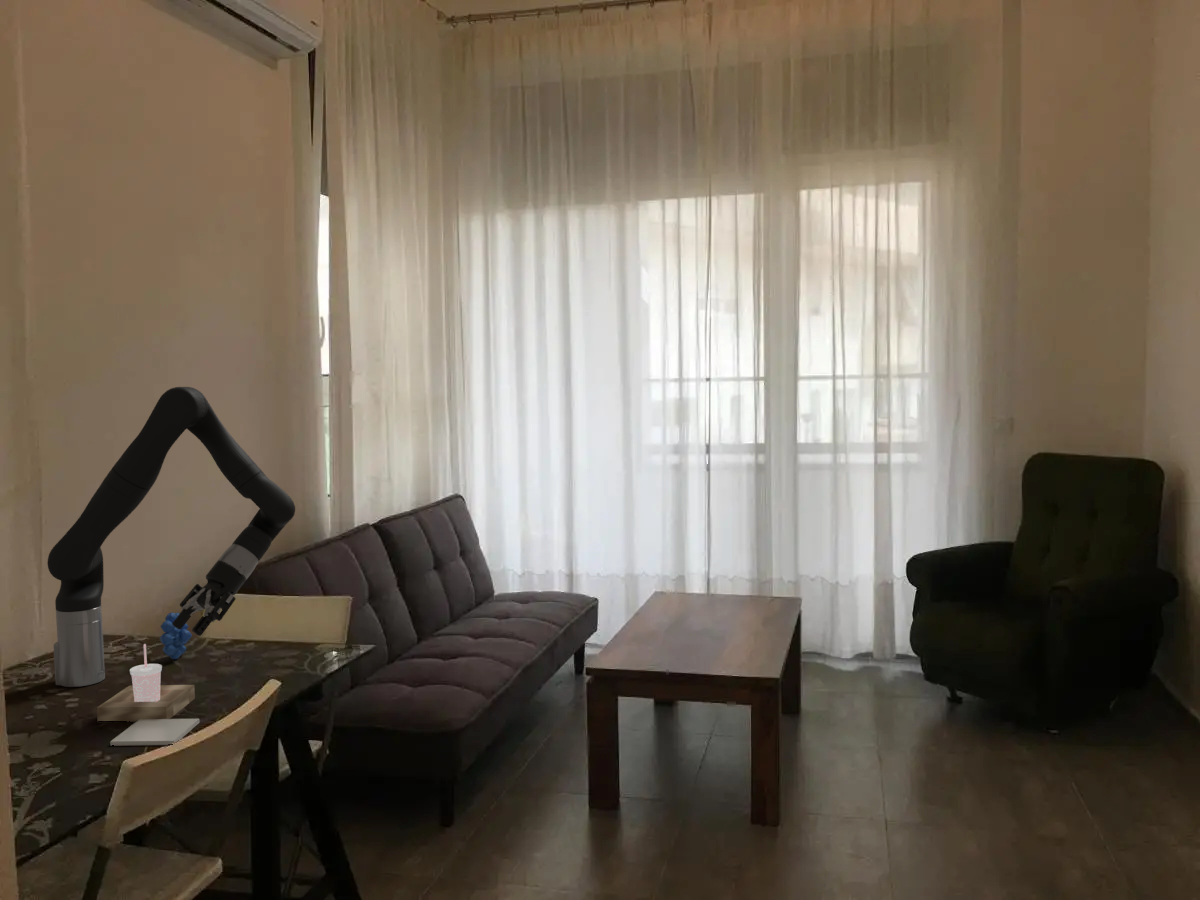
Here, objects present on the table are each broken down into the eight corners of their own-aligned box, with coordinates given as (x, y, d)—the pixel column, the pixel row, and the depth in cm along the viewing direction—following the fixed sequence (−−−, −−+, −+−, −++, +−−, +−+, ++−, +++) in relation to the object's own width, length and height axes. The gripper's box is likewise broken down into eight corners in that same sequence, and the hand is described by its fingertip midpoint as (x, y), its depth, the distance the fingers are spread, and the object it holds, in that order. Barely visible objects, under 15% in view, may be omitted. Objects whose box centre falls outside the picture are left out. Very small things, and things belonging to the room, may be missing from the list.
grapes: (182, 666, 238) (180, 617, 237) (154, 666, 238) (152, 617, 237) (202, 652, 249) (200, 605, 249) (176, 652, 250) (174, 605, 249)
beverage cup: (125, 713, 205) (121, 646, 204) (148, 703, 211) (144, 639, 210) (147, 716, 203) (144, 649, 202) (170, 706, 209) (167, 641, 208)
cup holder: (97, 721, 200) (96, 707, 200) (130, 699, 214) (129, 685, 214) (166, 721, 200) (166, 706, 200) (194, 698, 214) (194, 684, 214)
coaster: (110, 745, 187) (110, 741, 187) (139, 723, 199) (139, 719, 199) (174, 744, 187) (173, 740, 187) (199, 722, 199) (199, 718, 199)
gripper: (204, 555, 223) (156, 615, 215) (238, 563, 214) (190, 626, 206) (227, 575, 227) (181, 634, 219) (261, 583, 218) (215, 645, 210)
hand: (185, 630), depth 213 cm, fingers open, 8 cm apart
